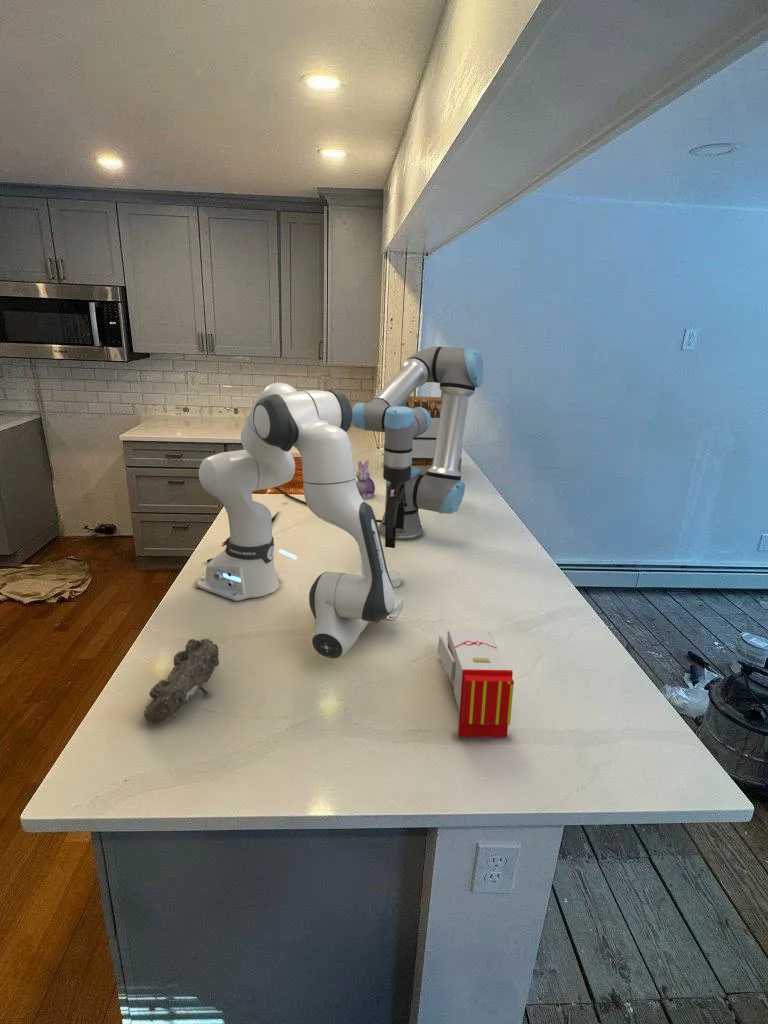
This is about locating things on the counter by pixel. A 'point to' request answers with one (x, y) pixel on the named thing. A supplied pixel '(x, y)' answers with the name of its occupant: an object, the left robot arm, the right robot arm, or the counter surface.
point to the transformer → (426, 441)
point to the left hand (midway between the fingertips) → (372, 587)
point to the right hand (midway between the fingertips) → (394, 537)
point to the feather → (274, 517)
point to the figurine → (365, 481)
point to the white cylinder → (395, 578)
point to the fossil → (183, 680)
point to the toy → (478, 682)
